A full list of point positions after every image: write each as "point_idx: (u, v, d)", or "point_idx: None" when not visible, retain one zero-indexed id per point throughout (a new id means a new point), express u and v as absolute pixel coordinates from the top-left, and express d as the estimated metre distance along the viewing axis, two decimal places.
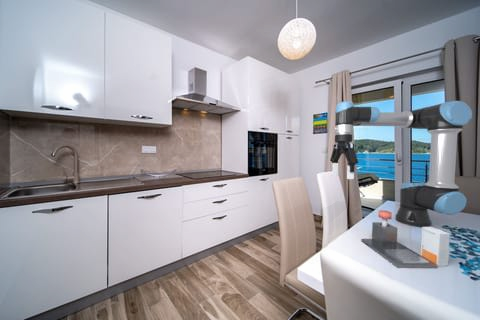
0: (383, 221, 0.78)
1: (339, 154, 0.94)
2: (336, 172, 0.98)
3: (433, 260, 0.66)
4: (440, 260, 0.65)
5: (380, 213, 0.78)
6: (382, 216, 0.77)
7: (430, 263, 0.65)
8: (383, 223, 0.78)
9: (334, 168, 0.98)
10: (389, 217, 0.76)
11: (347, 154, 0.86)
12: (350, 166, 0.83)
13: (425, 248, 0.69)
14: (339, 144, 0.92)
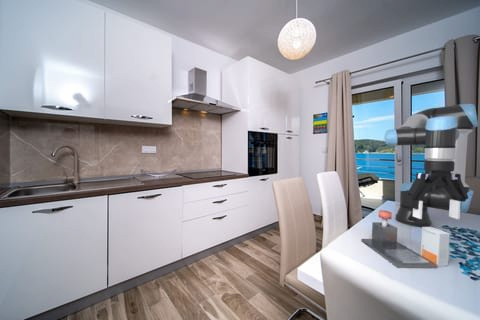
0: (383, 221, 0.78)
1: (447, 187, 0.66)
2: (455, 214, 0.66)
3: (433, 260, 0.66)
4: (440, 260, 0.65)
5: (380, 213, 0.78)
6: (382, 216, 0.77)
7: (430, 263, 0.65)
8: (383, 223, 0.78)
9: (451, 207, 0.68)
10: (389, 217, 0.76)
11: (421, 186, 0.67)
12: None
13: (425, 248, 0.69)
14: None
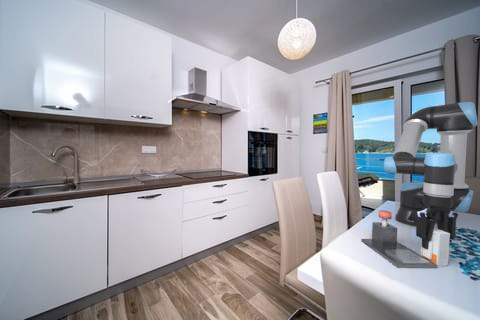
0: (383, 221, 0.78)
1: (441, 223, 0.67)
2: None
3: (433, 260, 0.66)
4: (440, 259, 0.65)
5: (380, 213, 0.78)
6: (382, 216, 0.77)
7: (430, 263, 0.65)
8: (383, 223, 0.78)
9: None
10: (389, 217, 0.76)
11: None
12: None
13: None
14: None
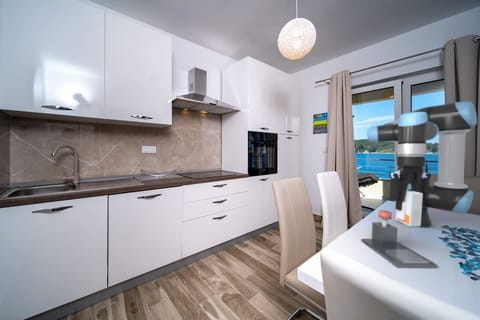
0: (383, 221, 0.78)
1: (414, 185, 0.67)
2: None
3: (406, 221, 0.66)
4: (413, 220, 0.65)
5: (380, 213, 0.78)
6: (382, 216, 0.77)
7: (430, 263, 0.65)
8: (383, 223, 0.78)
9: None
10: (389, 217, 0.76)
11: (399, 186, 0.68)
12: None
13: None
14: None
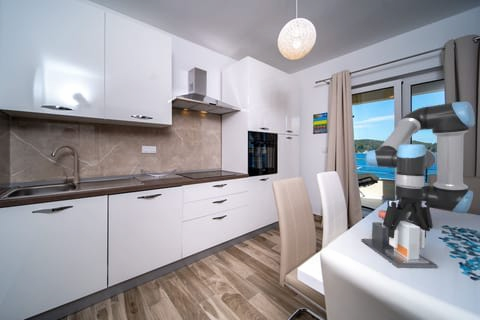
0: None
1: (415, 214, 0.67)
2: (420, 243, 0.67)
3: (404, 254, 0.67)
4: (411, 253, 0.65)
5: (380, 213, 0.78)
6: (382, 216, 0.77)
7: (430, 263, 0.65)
8: None
9: None
10: None
11: (395, 214, 0.68)
12: None
13: (398, 242, 0.69)
14: None
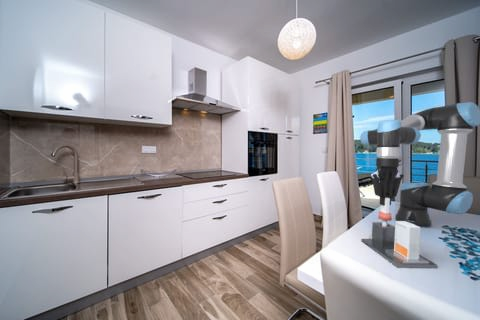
0: (383, 222, 0.78)
1: (388, 182, 0.77)
2: None
3: (404, 254, 0.67)
4: (411, 253, 0.65)
5: (380, 214, 0.78)
6: (382, 217, 0.77)
7: (430, 263, 0.65)
8: (383, 224, 0.78)
9: None
10: (389, 218, 0.76)
11: (380, 184, 0.78)
12: None
13: (398, 242, 0.69)
14: None
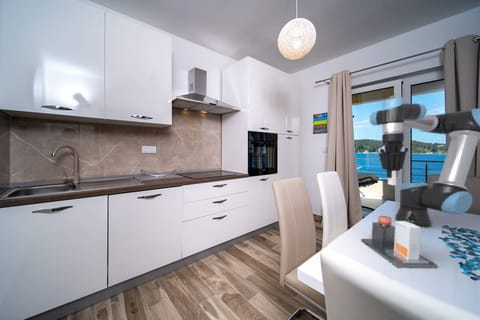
0: None
1: (394, 156, 0.84)
2: None
3: (404, 254, 0.67)
4: (411, 253, 0.65)
5: (380, 219, 0.78)
6: (382, 222, 0.77)
7: (430, 263, 0.65)
8: None
9: None
10: (389, 223, 0.76)
11: (387, 158, 0.84)
12: None
13: (398, 242, 0.69)
14: None
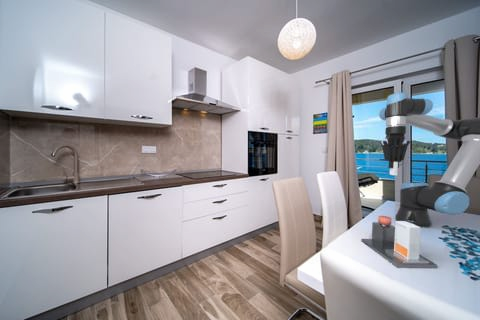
0: None
1: (396, 148, 0.89)
2: None
3: (404, 254, 0.67)
4: (411, 253, 0.65)
5: (380, 219, 0.78)
6: (382, 222, 0.77)
7: (430, 263, 0.65)
8: None
9: None
10: (389, 223, 0.76)
11: (389, 150, 0.90)
12: None
13: (398, 242, 0.69)
14: None
